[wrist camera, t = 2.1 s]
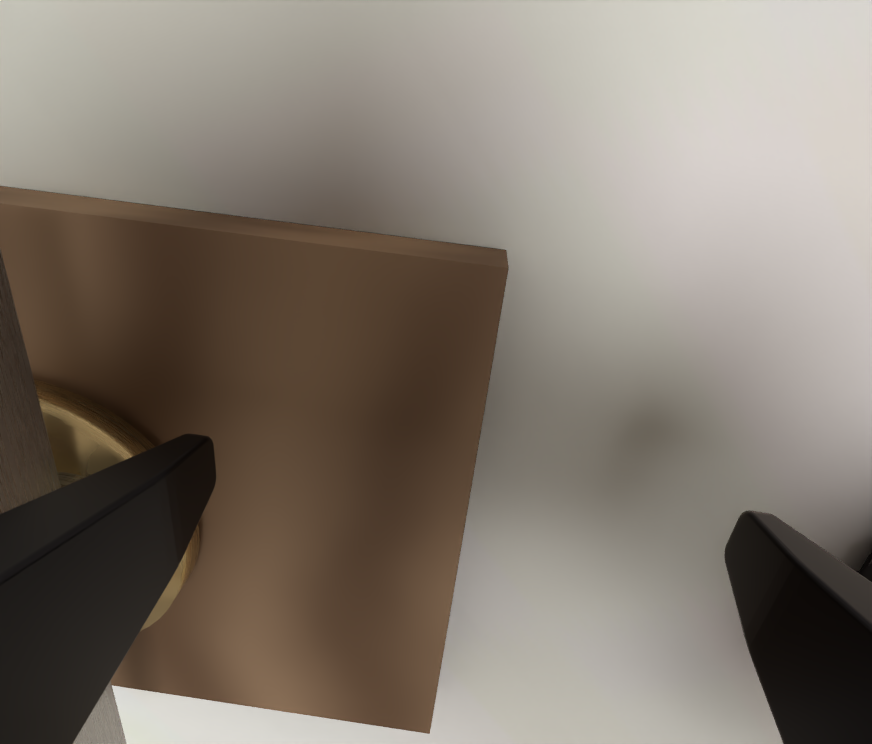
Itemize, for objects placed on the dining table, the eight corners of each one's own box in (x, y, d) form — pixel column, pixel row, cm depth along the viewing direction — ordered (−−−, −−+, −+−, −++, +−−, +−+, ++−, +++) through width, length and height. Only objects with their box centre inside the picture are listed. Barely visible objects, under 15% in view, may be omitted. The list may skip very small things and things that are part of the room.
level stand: (506, 250, 12) (511, 290, 10) (433, 690, 20) (425, 783, 17) (-168, 164, 13) (-341, 181, 10) (1, 625, 20) (-74, 706, 17)
